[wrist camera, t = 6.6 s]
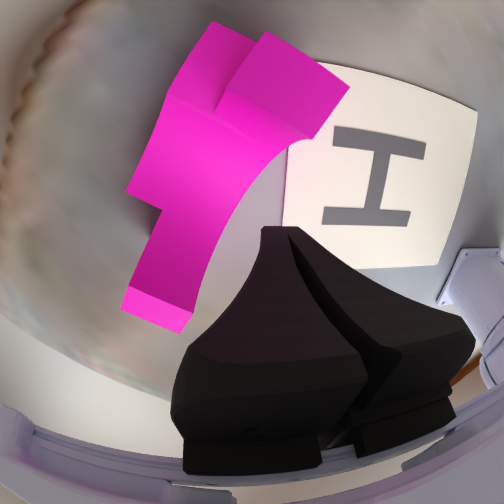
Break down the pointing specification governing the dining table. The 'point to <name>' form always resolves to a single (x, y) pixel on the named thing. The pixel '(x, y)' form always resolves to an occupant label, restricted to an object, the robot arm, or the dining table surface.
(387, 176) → the letter board
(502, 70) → the dining table surface
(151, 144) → the toy block
